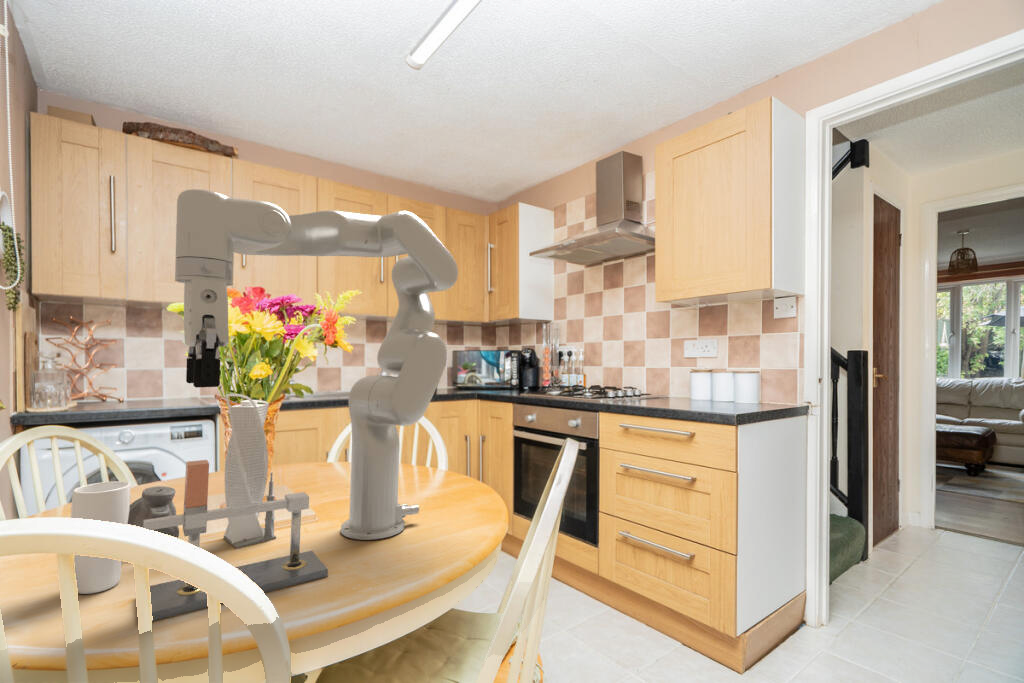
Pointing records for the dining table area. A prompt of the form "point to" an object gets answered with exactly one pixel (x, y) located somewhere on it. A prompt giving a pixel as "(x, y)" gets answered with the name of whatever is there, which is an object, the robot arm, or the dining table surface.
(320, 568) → the bolt plate
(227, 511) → the divider frame
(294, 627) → the dining table surface
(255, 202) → the robot arm
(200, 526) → the sliding leg
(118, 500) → the grey cup
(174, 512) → the pipe fitting
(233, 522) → the skyscraper
